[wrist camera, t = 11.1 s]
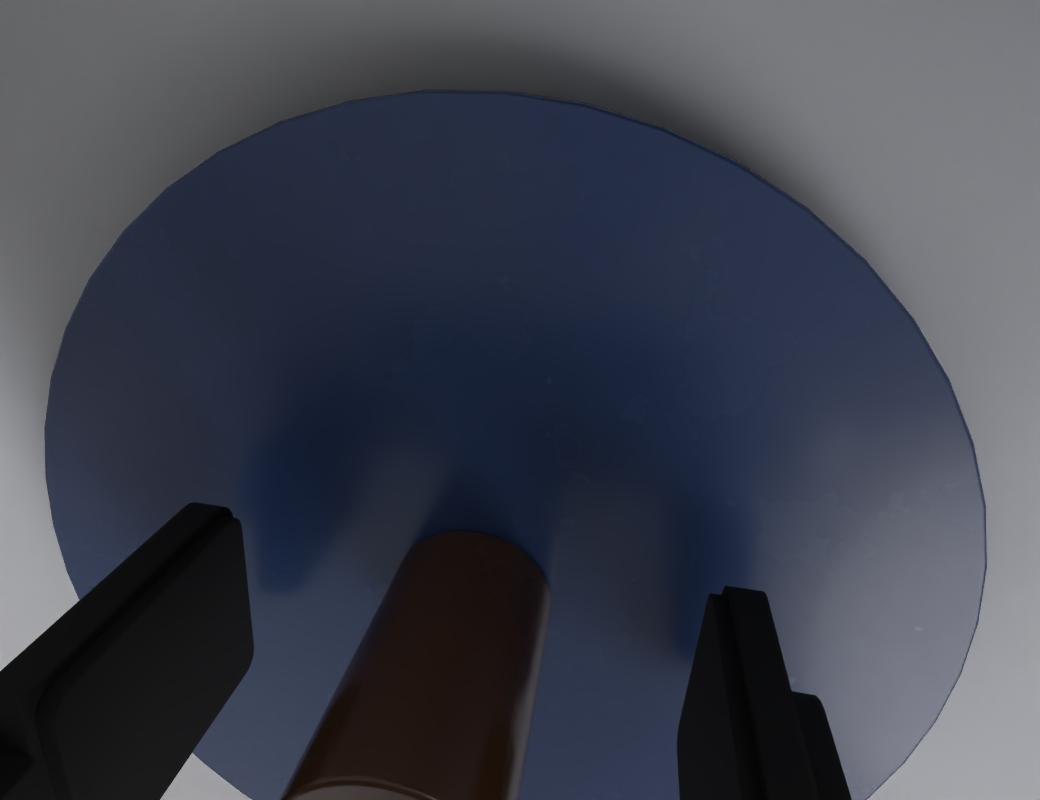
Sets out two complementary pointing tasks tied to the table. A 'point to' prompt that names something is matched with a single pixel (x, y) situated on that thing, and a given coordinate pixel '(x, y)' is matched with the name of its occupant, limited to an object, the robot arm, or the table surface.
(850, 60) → the table surface
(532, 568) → the pot lid
